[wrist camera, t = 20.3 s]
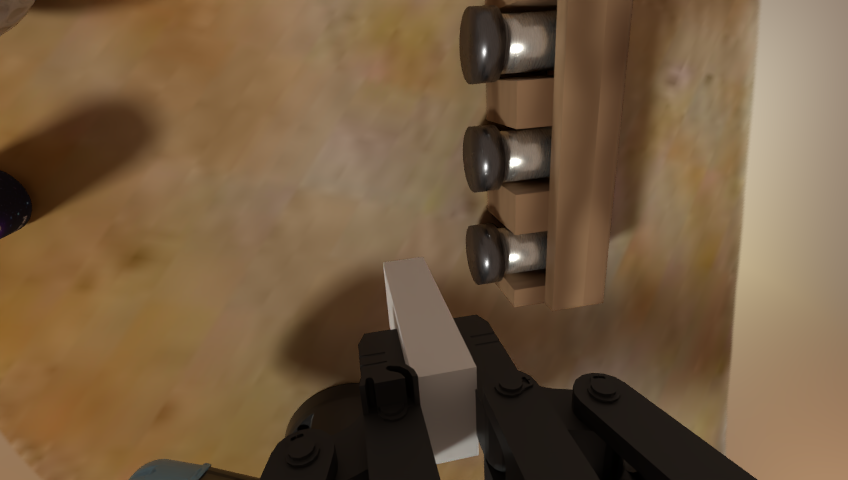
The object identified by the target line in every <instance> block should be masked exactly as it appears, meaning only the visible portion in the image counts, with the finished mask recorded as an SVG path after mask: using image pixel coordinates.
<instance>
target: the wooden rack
mask: <svg viewBox="0 0 848 480" xmlns="http://www.w3.org/2000/svg"><path fill="white" fill-rule="evenodd" d="M489 5H496V6H497V7H498V8H499V9H500V11H501V13H507V12H526V11H546V10H550V11H557V23H556V46H555V70H549V71H548V75H539V76H526V77H513V78H500V79H498V80H497V81H496V82H492V83H486V104H487V120H488V121H492V122H495V123H498V124H501V125H505V126H508V127H511V128H514V129H525V128H535V127H550V126H552V140H551V164H550V177H545V178H537V179H528V180H519V181H510V182H503V184H502V186H501V188H500V189H498V190H492V191H487V192H488V211H489V212H490V213H491V214H492V215H493V216H494V217H496V218H497V219H498V220H499V221H500V222H501V223H502V224H503V225H504V226H506V227H507V228H508V229H509V230H510V231H511V232H512V233H513V234H514V235H520V234H528V233H535V232H543V231H548V234H547V257H546V268H545V269H539V270H532V271H525V272H518V273H512V274H505V275H504V277H503V279H502V280H501V281H500V282H495V283H496V284H497V286H498V287H499V288H500V290H501V291H502V292H503V293H504V295H505V296H506V297H507V299H508V300H509V301H510V303H511V304H512V305H513V306H514V307H520V306H526V305H533V304H539V303H545V304H546V305H547V306H548V307H549V308H550V309H551V310H552V311H556V310H562V309H568V308H574V307H580V306H587V305H593V304H599V303H603V299H604V288H605V278H606V268H607V258H608V248H609V238H610V228H611V218H612V208H613V198H614V188H615V178H616V167H617V157H618V147H619V137H620V127H621V117H622V107H623V97H624V87H625V77H626V67H627V56H628V46H629V36H630V26H631V16H632V6H633V0H485V6H489Z"/></svg>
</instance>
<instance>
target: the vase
mask: <svg viewBox="0 0 848 480" xmlns="http://www.w3.org/2000/svg"><path fill="white" fill-rule="evenodd" d="M35 1H36V0H0V36H1V35H3V34H4V33H6V32H7V31H9V30H10V29H12V28H13V27H15V26H16V25H17V24H18V23H19V22H20V21H21V20H22V19H23V18H24V17H25V16H26V15H27V13H28V11H29V10H30V8H31V7H32V5H33V4H34V2H35Z"/></svg>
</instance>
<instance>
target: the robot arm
mask: <svg viewBox="0 0 848 480" xmlns="http://www.w3.org/2000/svg"><path fill="white" fill-rule="evenodd" d="M383 269H384V278H385V287H386V296H387V305H388V314H389V324H390V330H385V331H379V332H373V333H367V334H364V335H363V337H362V339H361V341H360V343H359V344H358V348H359V359H360V370H361V379H360V383H351V384H344V385H339V386H335V387H332V388H329V389H326V390H324V391H322V392H320V393H318V394H316V395H314V396H313V397H311V398H310V399H308V400H307V401H306V402H305V403H304V404H302V405H301V406H300V407H299V409H298V410H297V411H296V412H295V413H294V415H293V416H292V418H291V420H290V422H289V424H288V427H287V430H286V435H285V438H284V439H283V440H282V441H281V442H279V443H278V444H277V446H276V447H275V449H274V450H273V452H272V453H271V455H270V458H269V460H268V462H267V464H266V466H265V469H264V471H263V473H262V475H261V478H257V477H252V476H248V475H243V474H239V473H235V472H230V471H226V470H222V469H217V468H213V467H211V464H209V463H205V464H203V465H198V464H192V463H186V462H180V461H174V460H169V459H159V460H154V461H151V462H149V463H147V464H145V465H143V466H142V467H141V468H139V469H138V470H137V471H136V472H135V473H134V474H133V475H132V476H131V477H130V479H129V480H440V477H439V473H438V469H437V465H436V464H439V463H444V462H449V461H453V460H458V459H463V458H467V457H472V456H477V455H479V447H478V440H479V443H480V445H481V448H482V450H483V453H484V476H485V480H757V479H756V478H754V477H753V476H752V475H750V474H749V473H747V472H746V471H745V470H743V469H742V468H741V467H739V466H738V465H737V464H735V463H734V462H732V461H731V460H730V459H728V458H727V457H726V456H724V455H723V454H722V453H720V452H719V451H717V450H716V449H715V448H713V447H712V446H711V445H709V444H708V443H707V442H705V441H704V440H702V439H701V438H700V437H698V436H697V435H696V434H694V433H693V432H691V431H690V430H689V429H687V428H686V427H685V426H683V425H682V424H681V423H679V422H678V421H676V420H675V419H674V418H672V417H671V416H670V415H668V414H667V413H666V412H664V411H663V410H661V409H660V408H659V407H657V406H656V405H655V404H653V403H652V402H651V401H649V400H648V399H646V398H645V397H644V396H642V395H641V394H640V393H638V392H637V391H635V390H634V389H633V388H631V387H630V386H629V385H627V384H626V383H625V382H623V381H621V380H619V379H617V378H616V377H613V376H610V375H606V374H600V373H590V374H586V375H582V376H581V377H579V378H578V379H576V380H575V383H574V385H573V390H568V389H552V388H545V387H541V386H539V385H538V384H537V382H536V381H535V380H534V379H533V378H532V377H531V376H529V375H527V374H525V373H523V372H521V371H518V370H517V368H516V367H515V365H514V363H513V362H512V360H511V359H510V357H509V355H508V354H507V352H506V350H505V349H504V347H503V346H502V344H501V342H499V339H498V337H497V336H496V334H494V331H493V329H492V328H491V326H490V325H489V323H488V322H487V321H485V320H484V319H482V318H481V317H479V316H478V315H471V316H465V317H459V318H453V317H452V315H451V313H450V311H449V309H448V307H447V305H446V303H445V301H444V299H443V297H442V295H441V292H440V290H439V288H438V286H437V284H436V282H435V280H434V278H433V276H432V274H431V272H430V270H429V268H428V266H427V264H426V262H425V259H424V257H418V258H411V259H403V260H396V261H389V262H383Z"/></svg>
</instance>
